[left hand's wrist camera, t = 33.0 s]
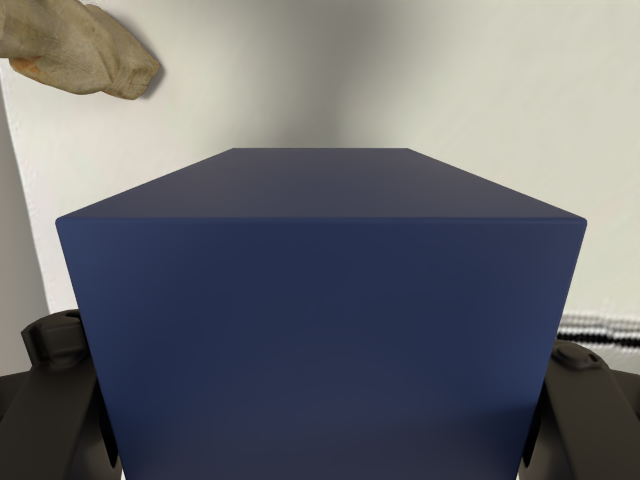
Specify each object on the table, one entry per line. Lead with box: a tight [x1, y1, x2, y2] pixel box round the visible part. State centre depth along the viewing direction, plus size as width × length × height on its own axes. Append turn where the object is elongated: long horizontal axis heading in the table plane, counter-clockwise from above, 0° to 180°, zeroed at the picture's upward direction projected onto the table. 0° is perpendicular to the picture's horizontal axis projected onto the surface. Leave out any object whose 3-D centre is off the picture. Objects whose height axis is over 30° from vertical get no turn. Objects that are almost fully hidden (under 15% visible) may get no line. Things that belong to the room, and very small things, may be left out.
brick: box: [55, 148, 587, 480], centre depth 11 cm, size 7×9×10 cm
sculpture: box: [0, 0, 160, 100], centre depth 23 cm, size 6×7×15 cm
